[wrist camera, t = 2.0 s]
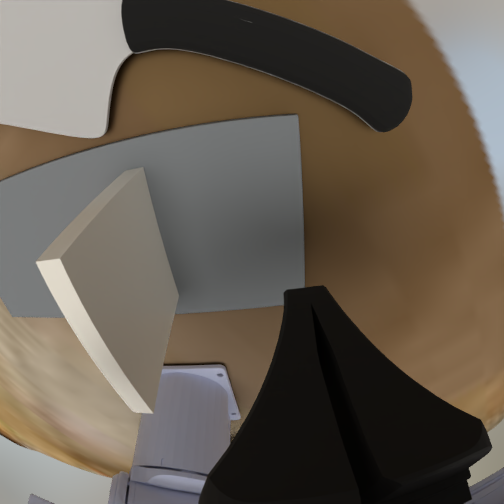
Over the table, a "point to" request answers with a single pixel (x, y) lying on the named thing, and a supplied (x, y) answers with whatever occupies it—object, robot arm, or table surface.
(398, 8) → the table surface
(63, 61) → the kitchen cleaver
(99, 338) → the tile
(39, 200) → the mat
